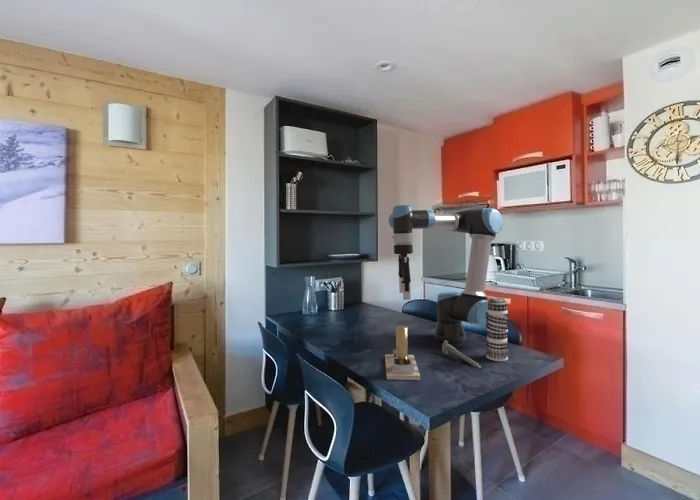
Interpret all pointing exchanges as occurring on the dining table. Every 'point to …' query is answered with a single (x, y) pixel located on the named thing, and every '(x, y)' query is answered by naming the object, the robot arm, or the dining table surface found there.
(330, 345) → the dining table surface
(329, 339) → the dining table surface
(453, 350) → the caliper
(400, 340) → the brass cylinder
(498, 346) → the decorative candle
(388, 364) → the fitting board
